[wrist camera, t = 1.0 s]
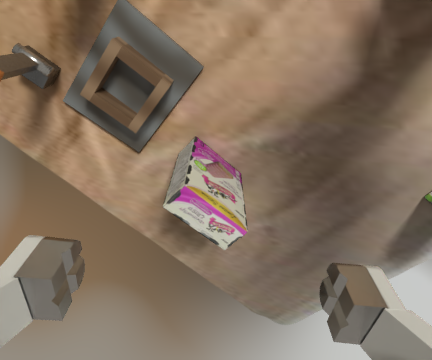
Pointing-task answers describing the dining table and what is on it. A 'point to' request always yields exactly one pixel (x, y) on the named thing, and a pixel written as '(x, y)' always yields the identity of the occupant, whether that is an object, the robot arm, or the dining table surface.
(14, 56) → the bar
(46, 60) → the retainer base
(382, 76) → the dining table surface
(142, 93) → the hitch block
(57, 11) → the dining table surface
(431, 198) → the syrup box
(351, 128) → the dining table surface
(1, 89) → the dining table surface
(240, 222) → the candy bar box
